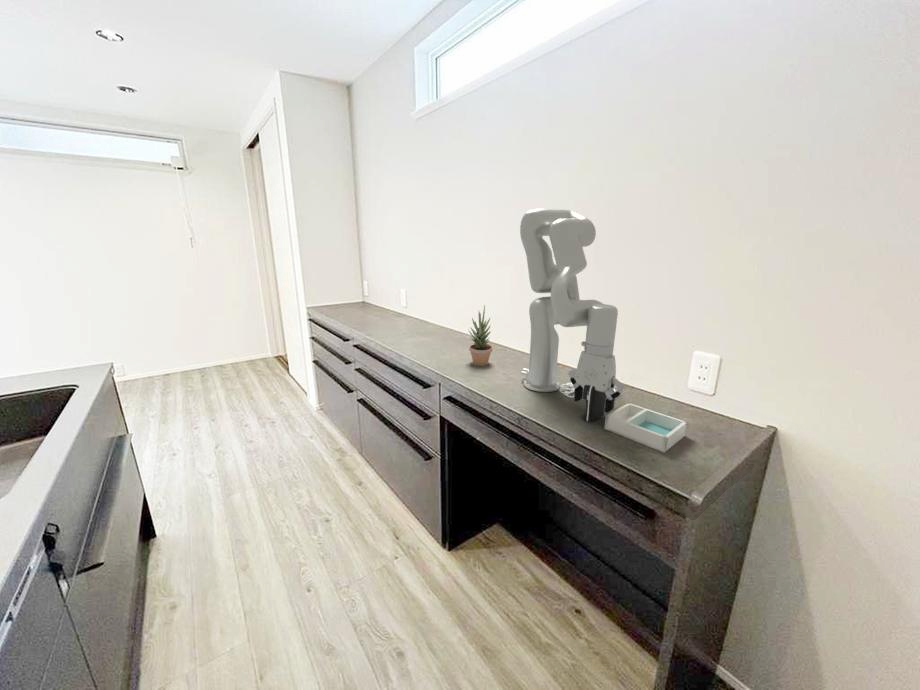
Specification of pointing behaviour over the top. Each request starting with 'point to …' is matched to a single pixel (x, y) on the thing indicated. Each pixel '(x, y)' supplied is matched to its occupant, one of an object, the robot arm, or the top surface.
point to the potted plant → (480, 342)
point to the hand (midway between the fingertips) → (592, 405)
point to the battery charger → (593, 403)
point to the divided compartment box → (646, 426)
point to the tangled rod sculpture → (572, 389)
